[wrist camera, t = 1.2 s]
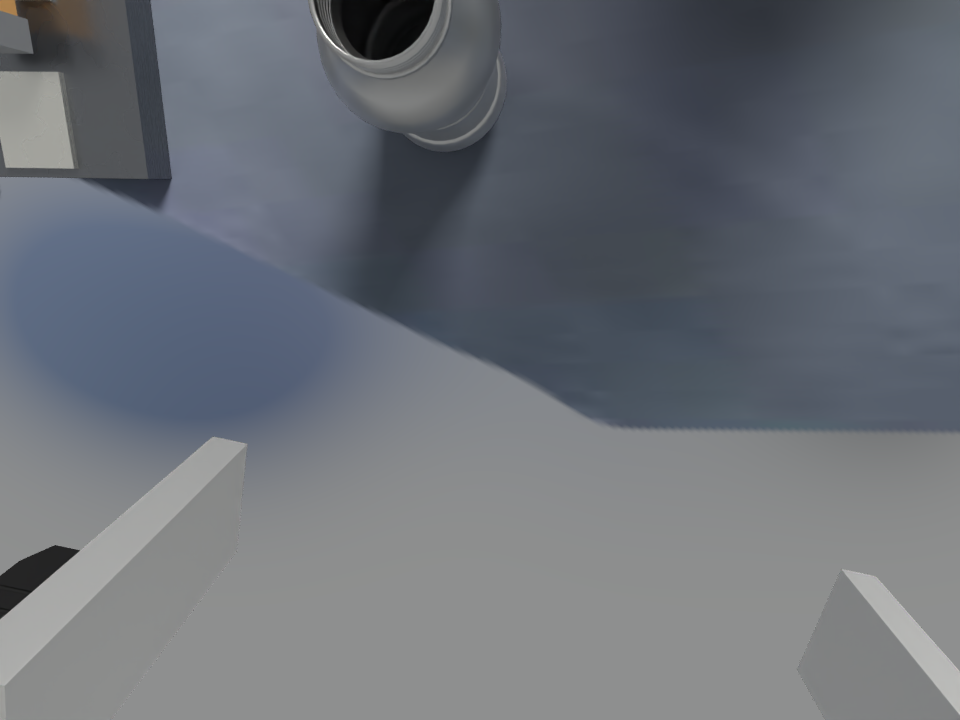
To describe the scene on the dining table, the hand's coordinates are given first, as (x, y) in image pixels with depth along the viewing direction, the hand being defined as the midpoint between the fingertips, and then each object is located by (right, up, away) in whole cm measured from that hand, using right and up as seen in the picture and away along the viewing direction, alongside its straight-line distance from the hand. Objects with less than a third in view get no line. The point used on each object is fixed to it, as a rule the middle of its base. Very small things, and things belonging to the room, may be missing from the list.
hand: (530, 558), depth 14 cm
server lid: (-26, +23, +22) cm, 41 cm away
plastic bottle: (-3, +20, +22) cm, 30 cm away
